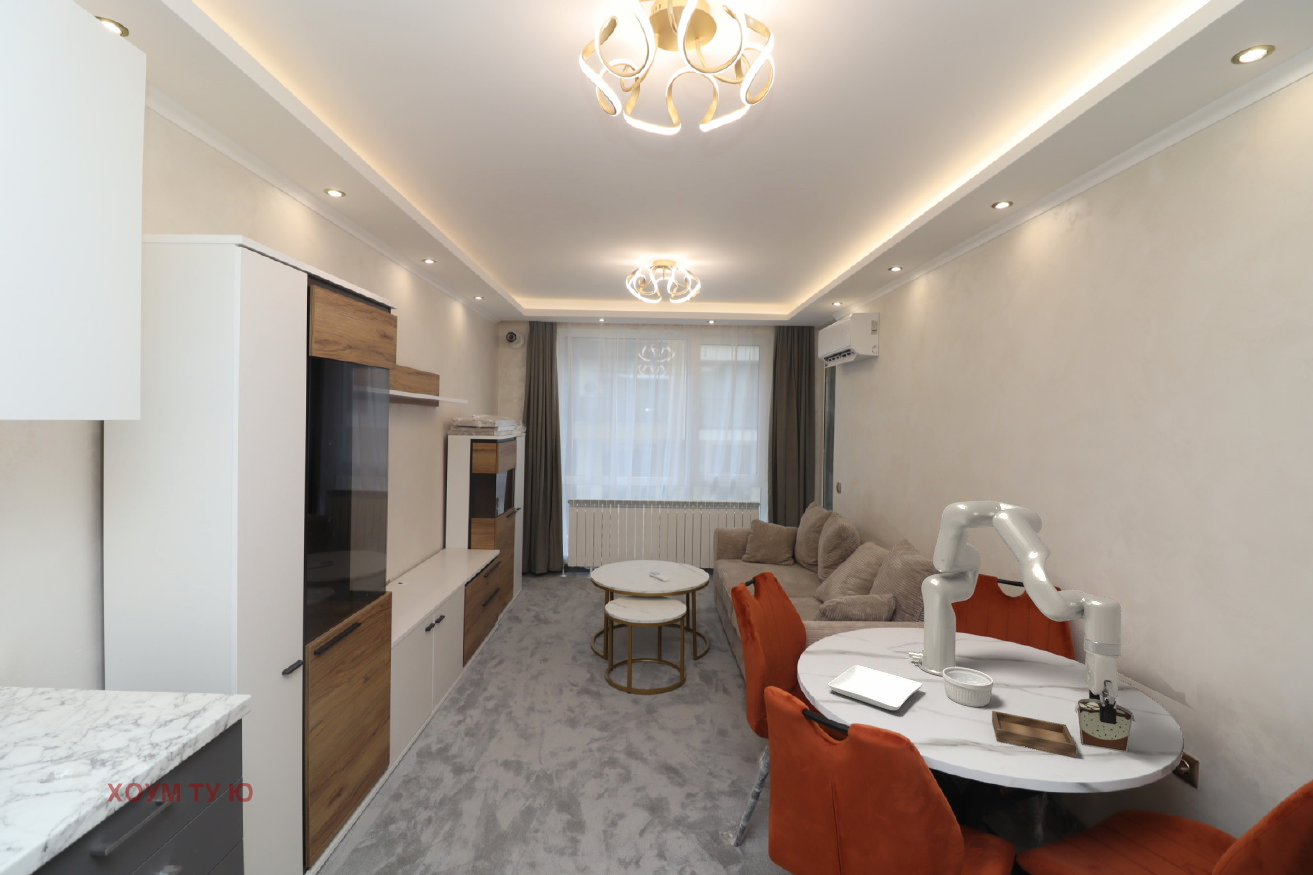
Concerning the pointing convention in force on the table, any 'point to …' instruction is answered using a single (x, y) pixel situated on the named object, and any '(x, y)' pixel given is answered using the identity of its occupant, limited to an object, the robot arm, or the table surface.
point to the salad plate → (874, 687)
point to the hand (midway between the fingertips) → (1102, 714)
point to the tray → (1033, 734)
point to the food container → (1103, 726)
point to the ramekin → (967, 686)
